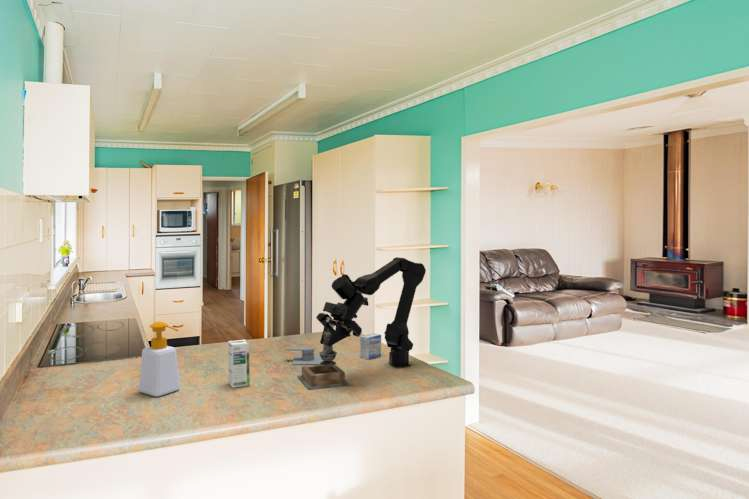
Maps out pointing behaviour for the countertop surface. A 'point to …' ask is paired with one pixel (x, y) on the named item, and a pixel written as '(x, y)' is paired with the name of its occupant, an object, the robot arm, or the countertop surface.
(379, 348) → the medicine box
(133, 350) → the countertop surface
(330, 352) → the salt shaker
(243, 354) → the syrup box
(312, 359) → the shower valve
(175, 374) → the soap bottle
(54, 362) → the countertop surface
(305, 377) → the holder
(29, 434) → the countertop surface
